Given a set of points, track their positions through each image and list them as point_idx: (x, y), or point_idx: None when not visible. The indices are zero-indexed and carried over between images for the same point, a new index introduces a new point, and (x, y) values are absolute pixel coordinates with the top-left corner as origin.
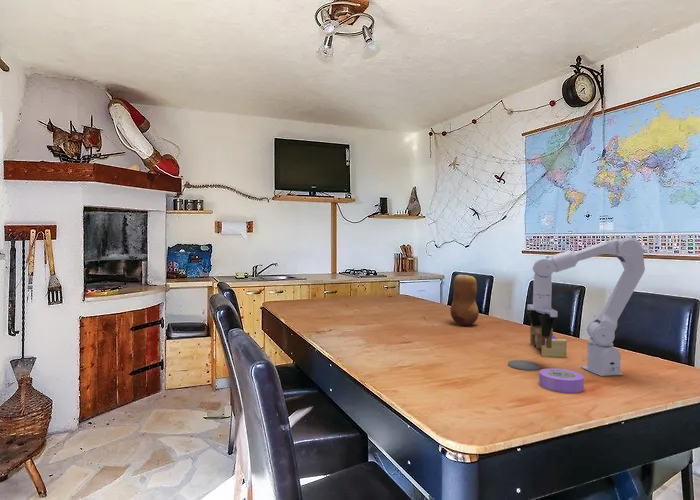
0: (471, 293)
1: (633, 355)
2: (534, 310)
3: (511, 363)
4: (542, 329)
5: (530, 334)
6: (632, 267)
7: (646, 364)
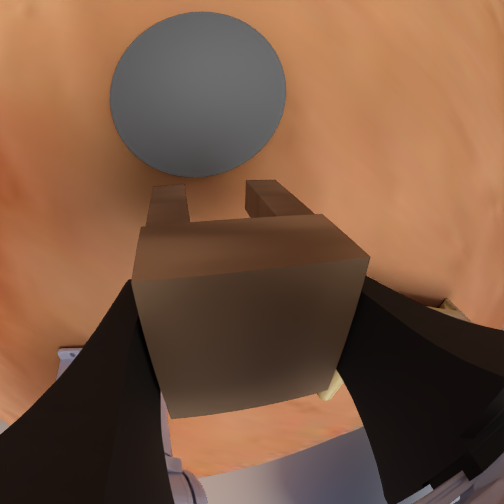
0: None
1: (271, 453)
2: (488, 466)
3: (226, 31)
4: (113, 323)
5: (312, 212)
6: None
7: (200, 455)
